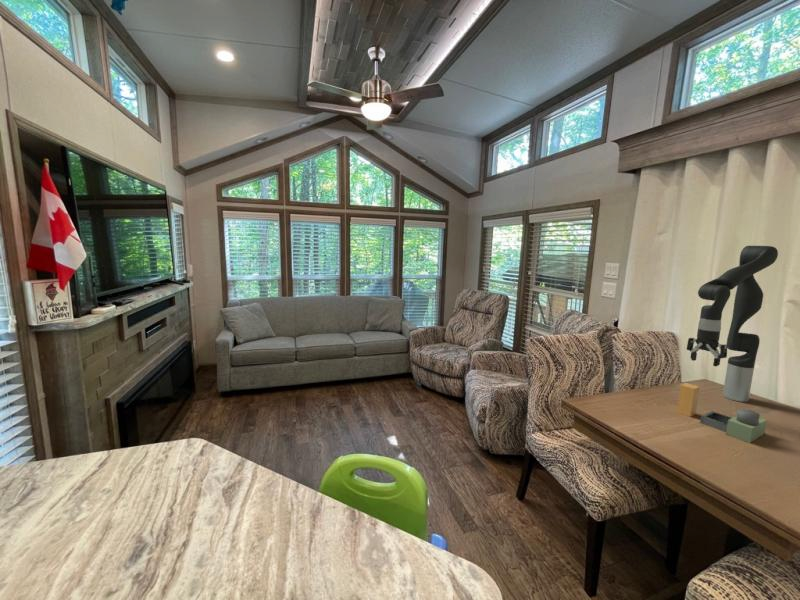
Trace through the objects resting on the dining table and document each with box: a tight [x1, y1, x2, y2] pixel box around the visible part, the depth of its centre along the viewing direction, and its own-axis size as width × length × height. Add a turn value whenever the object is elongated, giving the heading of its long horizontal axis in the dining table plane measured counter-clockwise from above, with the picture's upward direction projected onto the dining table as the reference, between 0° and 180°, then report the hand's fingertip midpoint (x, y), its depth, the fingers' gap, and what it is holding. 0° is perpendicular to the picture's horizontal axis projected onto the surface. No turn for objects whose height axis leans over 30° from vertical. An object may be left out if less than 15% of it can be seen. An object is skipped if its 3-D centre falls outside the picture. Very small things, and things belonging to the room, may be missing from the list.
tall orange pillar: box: [676, 382, 701, 417], centre depth 150 cm, size 5×5×13 cm
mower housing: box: [725, 408, 767, 444], centre depth 134 cm, size 14×7×10 cm, turn 117°
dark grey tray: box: [700, 410, 732, 433], centre depth 141 cm, size 10×9×3 cm
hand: (704, 363), depth 154 cm, fingers open, 8 cm apart
